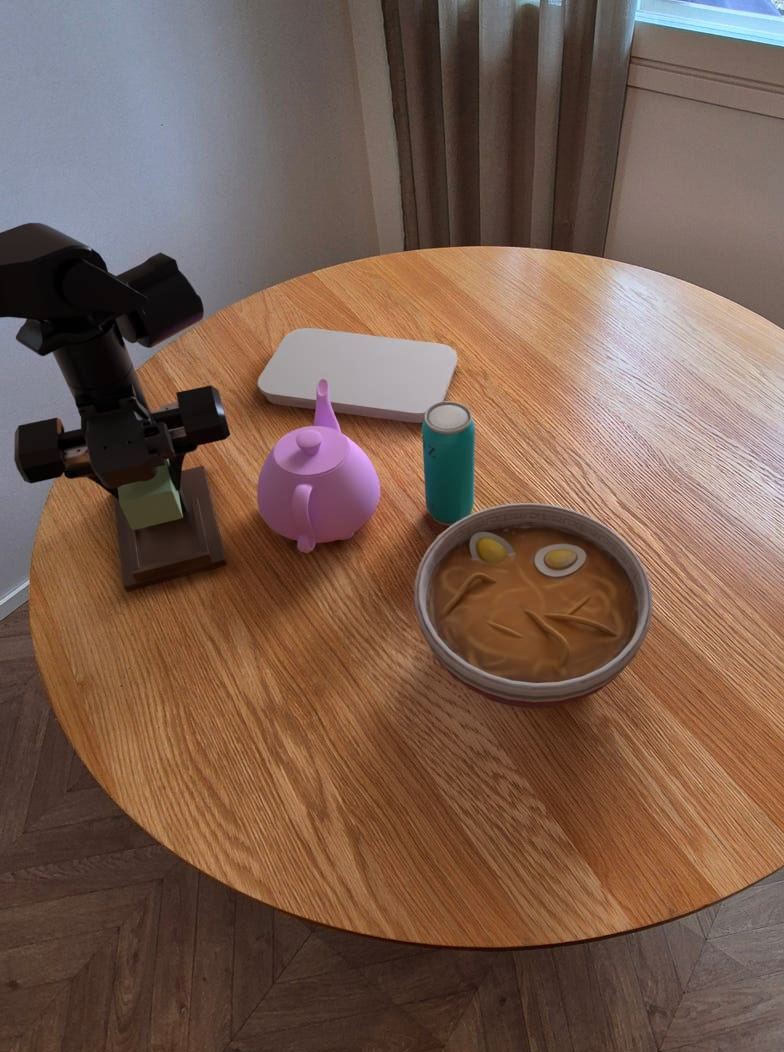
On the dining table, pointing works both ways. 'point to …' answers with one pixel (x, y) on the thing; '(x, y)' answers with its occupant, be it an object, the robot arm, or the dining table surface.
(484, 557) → the bowl
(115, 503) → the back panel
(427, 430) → the beverage can
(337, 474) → the teapot
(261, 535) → the dining table surface
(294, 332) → the tablet
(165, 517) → the pad
